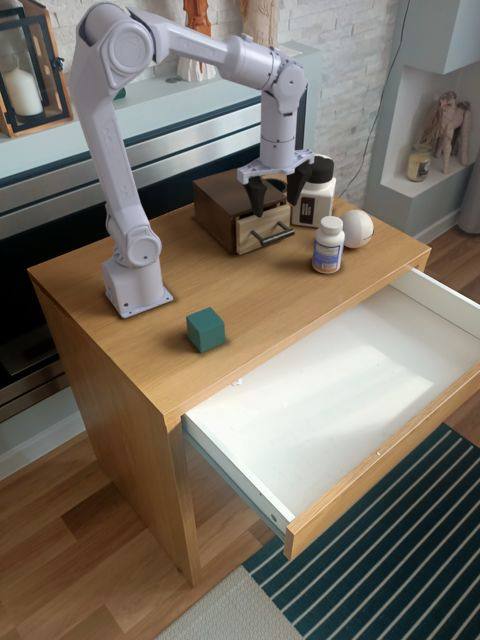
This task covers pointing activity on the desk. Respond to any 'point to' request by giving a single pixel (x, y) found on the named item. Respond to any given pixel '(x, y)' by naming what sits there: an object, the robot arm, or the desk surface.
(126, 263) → the robot arm
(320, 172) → the container
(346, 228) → the white ball
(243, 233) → the drawer
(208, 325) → the block
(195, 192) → the cabinet
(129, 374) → the desk surface
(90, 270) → the desk surface
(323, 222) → the pill bottle
